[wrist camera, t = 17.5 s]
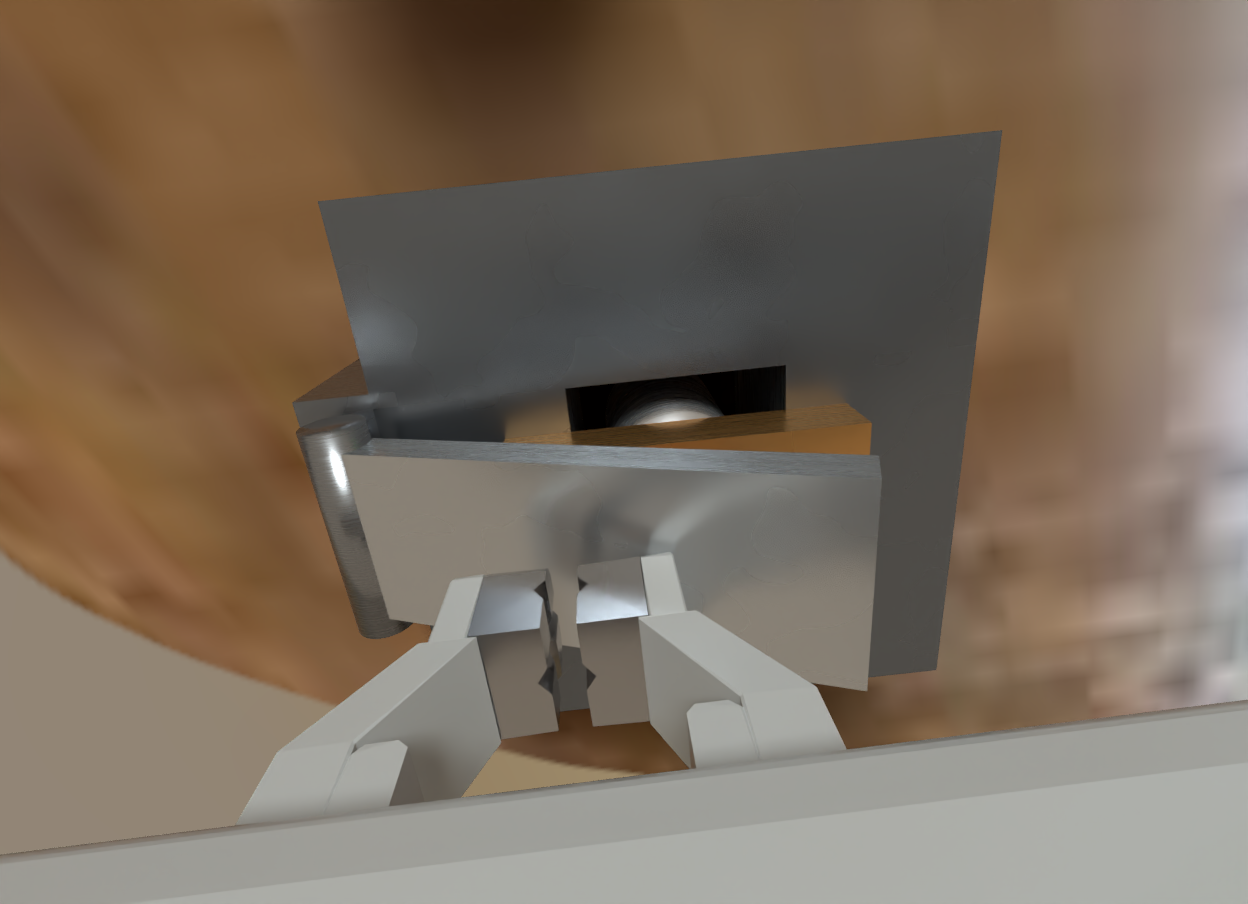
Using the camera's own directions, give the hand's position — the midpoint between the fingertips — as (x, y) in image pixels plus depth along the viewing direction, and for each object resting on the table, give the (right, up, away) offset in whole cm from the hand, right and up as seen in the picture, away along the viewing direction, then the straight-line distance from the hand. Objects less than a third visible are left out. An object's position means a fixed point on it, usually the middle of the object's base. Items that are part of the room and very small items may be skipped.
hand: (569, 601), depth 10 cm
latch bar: (0, +1, +1) cm, 2 cm away
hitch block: (+2, +4, +8) cm, 9 cm away
